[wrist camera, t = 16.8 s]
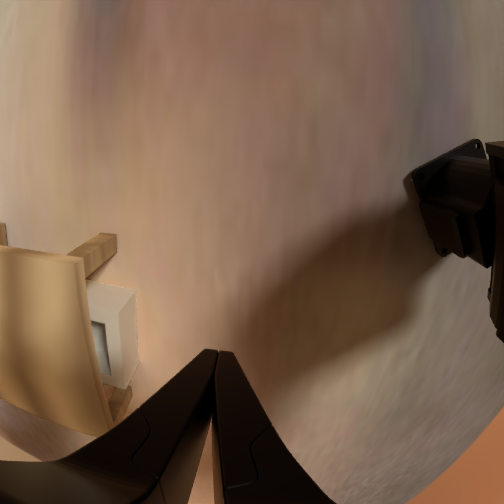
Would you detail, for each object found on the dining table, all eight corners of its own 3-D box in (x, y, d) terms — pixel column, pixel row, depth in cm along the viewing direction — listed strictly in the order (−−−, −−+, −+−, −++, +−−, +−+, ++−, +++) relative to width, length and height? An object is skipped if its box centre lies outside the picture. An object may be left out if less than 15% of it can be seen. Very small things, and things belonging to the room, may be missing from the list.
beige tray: (137, 288, 21) (118, 313, 17) (139, 361, 23) (125, 389, 20) (28, 265, 20) (3, 282, 17) (40, 333, 22) (19, 354, 19)
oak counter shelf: (116, 234, 19) (74, 264, 14) (132, 395, 24) (112, 441, 19) (-4, 222, 19) (-50, 242, 14) (27, 364, 24) (-1, 397, 18)
